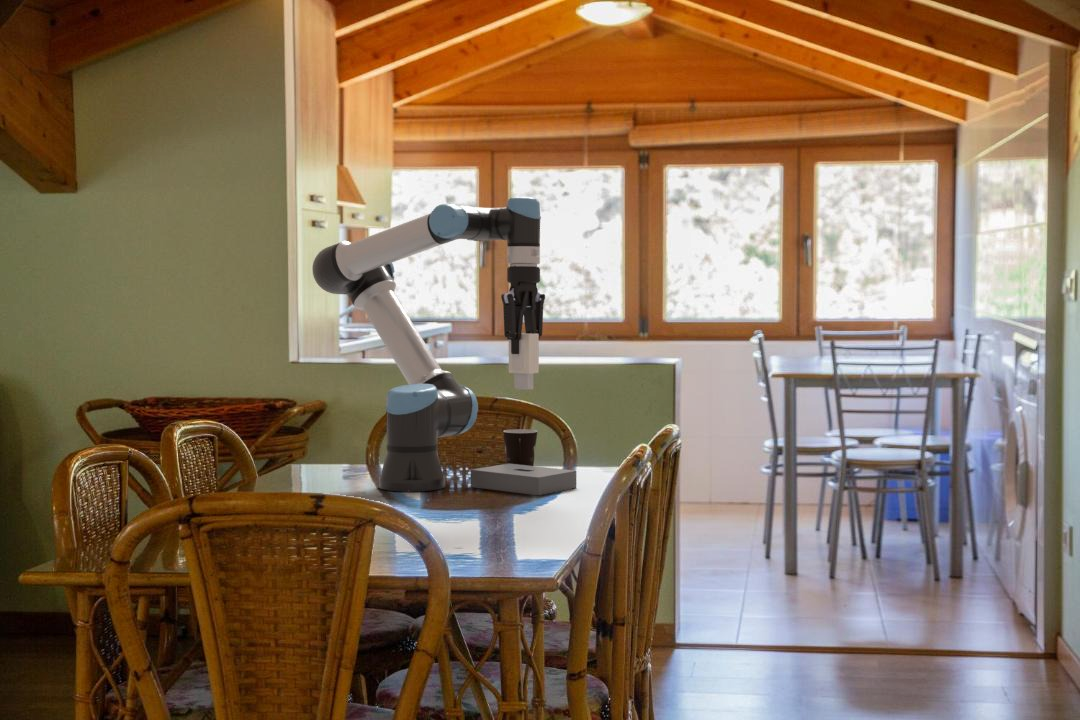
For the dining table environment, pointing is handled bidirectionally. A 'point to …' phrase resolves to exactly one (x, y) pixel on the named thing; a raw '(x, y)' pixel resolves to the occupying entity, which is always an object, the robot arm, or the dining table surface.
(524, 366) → the plug
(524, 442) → the coffee mug
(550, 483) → the header
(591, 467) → the dining table surface
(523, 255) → the robot arm
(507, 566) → the dining table surface
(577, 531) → the dining table surface
